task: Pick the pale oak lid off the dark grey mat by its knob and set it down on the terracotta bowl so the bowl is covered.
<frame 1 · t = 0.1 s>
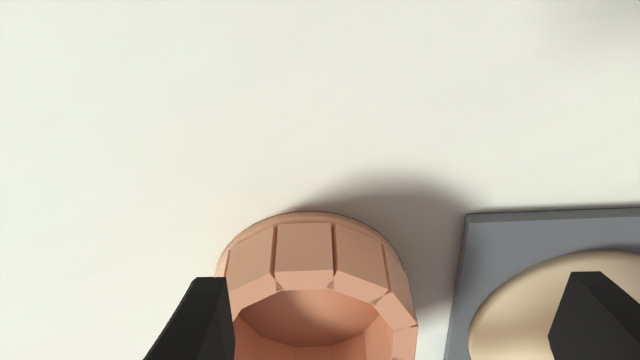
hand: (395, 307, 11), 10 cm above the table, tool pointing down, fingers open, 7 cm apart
mat: (567, 317, 26), on the table
bowl: (309, 285, 25), on the table
lid: (571, 326, 26), point 1 cm above the table, touching mat
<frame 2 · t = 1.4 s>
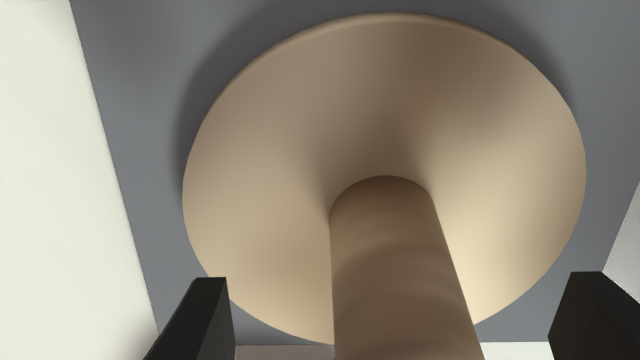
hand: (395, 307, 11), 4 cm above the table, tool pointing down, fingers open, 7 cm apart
mat: (376, 189, 15), on the table
lid: (378, 201, 14), point 1 cm above the table, touching mat
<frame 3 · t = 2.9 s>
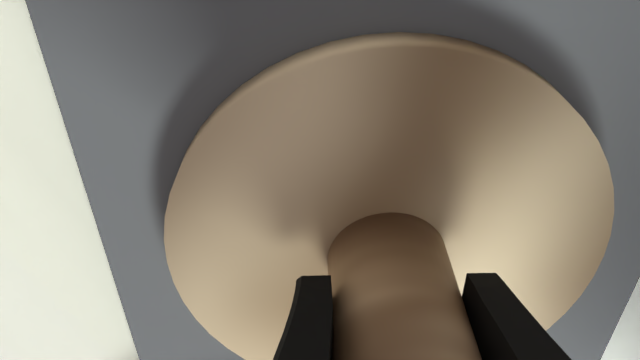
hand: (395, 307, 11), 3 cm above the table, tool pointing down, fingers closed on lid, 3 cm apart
mat: (379, 221, 13), on the table
lid: (382, 237, 13), point 1 cm above the table, touching gripper, mat
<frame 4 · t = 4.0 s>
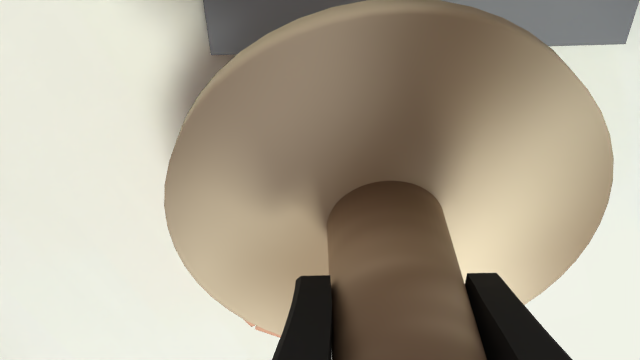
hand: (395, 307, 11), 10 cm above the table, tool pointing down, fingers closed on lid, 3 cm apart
lid: (381, 203, 13), point 7 cm above the table, touching gripper
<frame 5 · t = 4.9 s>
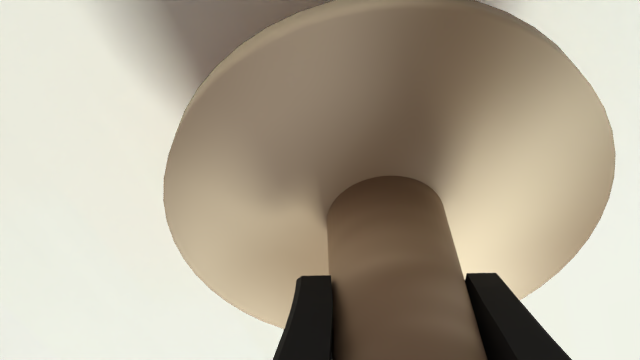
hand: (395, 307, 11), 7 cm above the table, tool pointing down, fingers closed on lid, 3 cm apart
lid: (381, 197, 13), point 4 cm above the table, tilted 6°, touching gripper
when the fingers open (7 cm above the table, at t = 5.5 s): lid stays where it is, resting on bowl.
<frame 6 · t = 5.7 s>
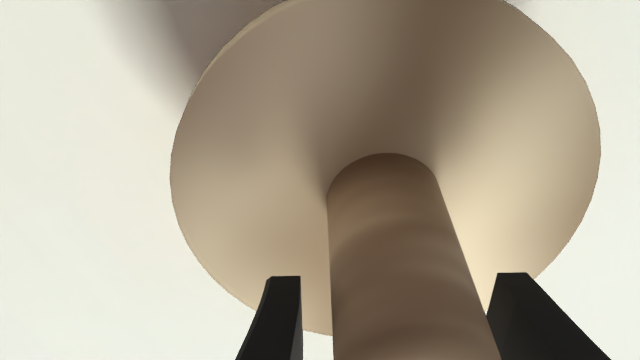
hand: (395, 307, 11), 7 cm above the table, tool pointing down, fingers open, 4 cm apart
lid: (379, 182, 13), point 4 cm above the table, touching bowl
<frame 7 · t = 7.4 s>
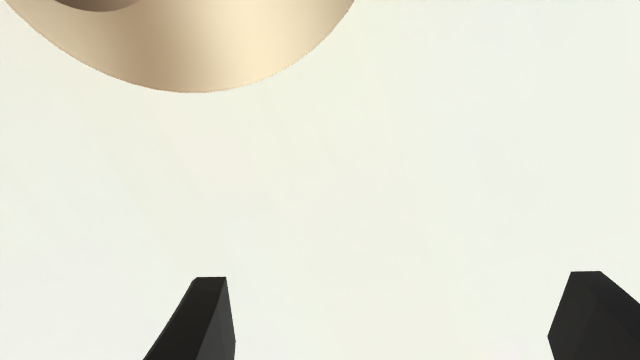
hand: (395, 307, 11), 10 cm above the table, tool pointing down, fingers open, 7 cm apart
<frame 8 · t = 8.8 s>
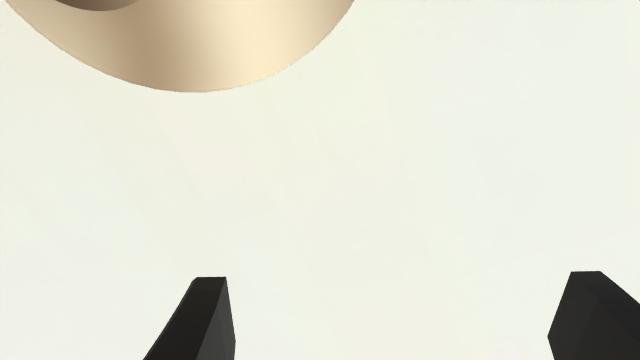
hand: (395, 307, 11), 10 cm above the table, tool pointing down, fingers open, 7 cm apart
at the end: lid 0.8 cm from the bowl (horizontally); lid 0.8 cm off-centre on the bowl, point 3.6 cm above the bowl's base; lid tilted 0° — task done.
